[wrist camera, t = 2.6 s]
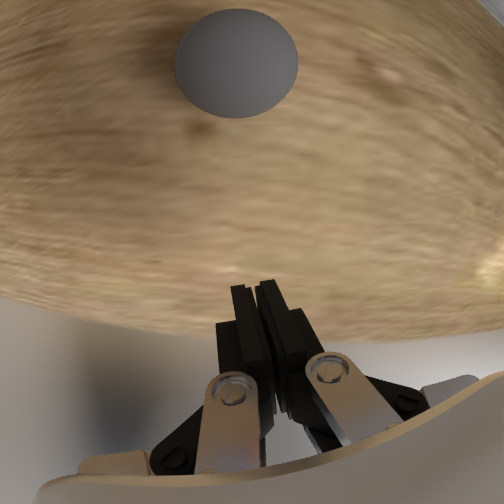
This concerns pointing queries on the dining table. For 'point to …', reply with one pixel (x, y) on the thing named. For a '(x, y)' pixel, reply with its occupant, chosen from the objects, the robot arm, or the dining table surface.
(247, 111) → the dark gray ball
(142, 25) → the dining table surface
